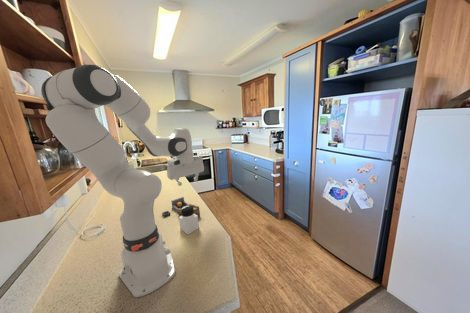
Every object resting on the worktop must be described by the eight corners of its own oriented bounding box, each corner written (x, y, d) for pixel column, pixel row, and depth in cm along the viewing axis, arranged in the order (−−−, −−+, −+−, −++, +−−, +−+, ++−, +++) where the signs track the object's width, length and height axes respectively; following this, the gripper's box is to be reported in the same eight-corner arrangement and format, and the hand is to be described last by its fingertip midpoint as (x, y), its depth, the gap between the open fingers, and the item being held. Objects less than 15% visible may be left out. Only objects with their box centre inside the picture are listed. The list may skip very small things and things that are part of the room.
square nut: (170, 215, 106) (170, 212, 106) (164, 217, 104) (164, 215, 104) (168, 212, 109) (167, 210, 109) (162, 215, 107) (162, 212, 106)
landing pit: (190, 208, 112) (189, 201, 111) (178, 213, 107) (177, 205, 106) (183, 203, 120) (182, 196, 119) (172, 207, 115) (171, 200, 114)
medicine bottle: (199, 228, 92) (197, 206, 89) (187, 235, 87) (184, 212, 84) (191, 223, 97) (189, 202, 94) (180, 229, 91) (177, 208, 89)
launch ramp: (200, 216, 103) (199, 206, 102) (187, 221, 98) (186, 212, 97) (190, 208, 112) (189, 200, 111) (178, 213, 107) (177, 204, 106)
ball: (179, 207, 116) (181, 207, 113) (175, 206, 115) (176, 205, 112) (181, 203, 117) (183, 202, 115) (177, 201, 116) (178, 201, 114)
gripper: (199, 154, 103) (201, 176, 106) (164, 161, 91) (167, 186, 94) (204, 155, 99) (207, 179, 102) (168, 163, 86) (172, 190, 89)
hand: (188, 183), depth 98 cm, fingers open, 8 cm apart
